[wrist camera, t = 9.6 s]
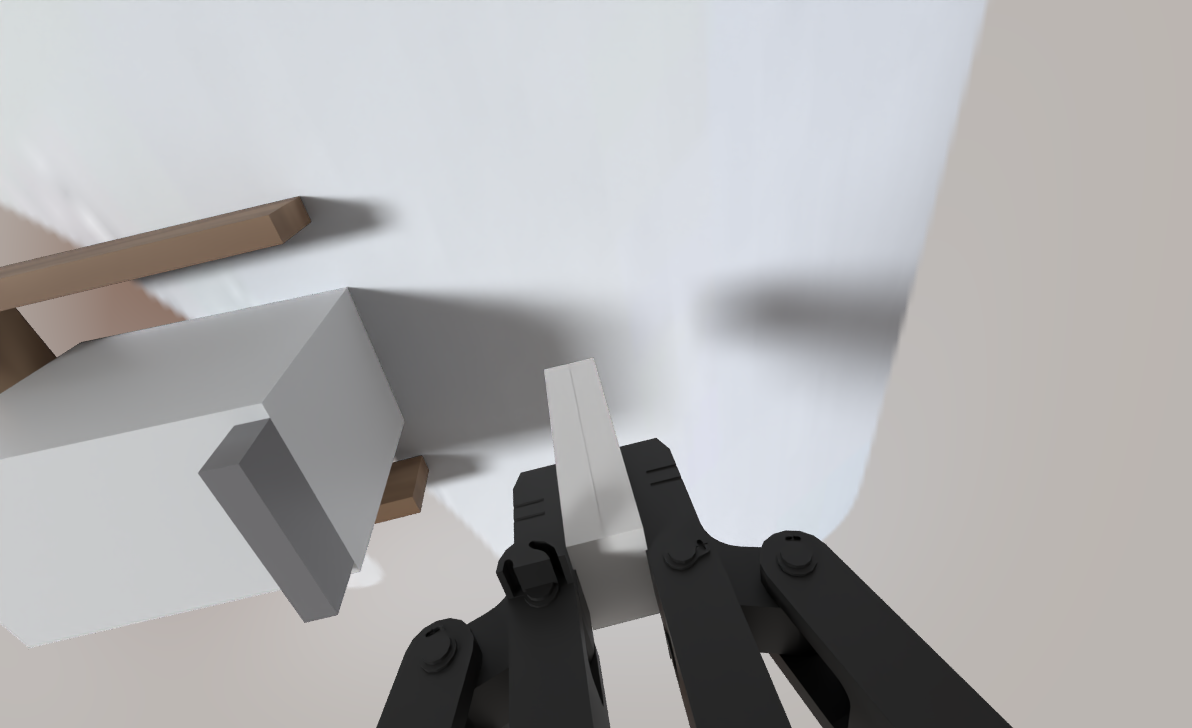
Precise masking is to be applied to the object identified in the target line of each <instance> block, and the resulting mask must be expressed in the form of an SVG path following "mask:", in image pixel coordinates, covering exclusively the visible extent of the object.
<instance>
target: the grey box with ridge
mask: <svg viewBox="0 0 1192 728" xmlns="http://www.w3.org/2000/svg"><path fill="white" fill-rule="evenodd" d="M404 422H405V420H404V418H403V416H402V413H401V411H400V409H399V406H398V404H397V402H396V400H395V397H394V395H393V393H392V390H391V388H390V386H389V383H388V381H387V379H386V376H385V374H384V372H383V369H382V367H381V365H380V362H379V360H378V358H377V355H376V353H375V351H374V348H373V346H372V344H371V341H370V339H369V337H368V334H367V332H366V330H365V327H364V325H363V323H362V320H361V318H360V316H359V313H358V311H357V309H356V306H355V304H354V302H353V299H352V297H351V295H350V292H349V290H348V288H347V287H346V288H341V289H336V290H331V291H327V292H322V293H317V294H312V295H307V296H303V297H298V298H293V299H288V300H283V301H279V302H274V303H269V304H264V305H259V306H255V307H250V308H245V309H240V310H235V311H231V312H226V313H221V314H216V315H211V316H207V317H202V318H197V319H192V320H185V321H180V322H175V323H170V324H166V325H161V326H156V327H151V328H147V329H142V330H137V331H132V332H127V333H123V334H118V335H113V336H108V337H103V338H98V339H94V340H89V341H84V342H81V343H79V344H77V345H76V346H74V347H73V348H71V349H70V350H68V351H67V352H65V353H63V354H62V355H61V356H59V357H57V358H56V359H54V360H52V361H51V362H49V363H48V364H46V365H45V366H43V367H42V368H40V369H38V370H37V371H35V372H34V373H32V374H31V375H29V376H27V377H26V378H24V379H23V380H21V381H20V382H18V383H17V384H15V385H13V386H12V387H10V388H9V389H7V390H6V391H4V392H2V393H1V394H0V624H1V625H2V626H3V627H5V628H6V629H7V630H8V631H9V632H10V633H12V634H13V635H14V636H15V637H16V638H18V639H19V640H20V641H21V642H22V643H24V644H25V645H26V646H27V647H28V648H31V647H35V646H40V645H44V644H48V643H53V642H57V641H62V640H66V639H70V638H75V637H79V636H83V635H87V634H92V633H96V632H101V631H105V630H110V629H114V628H118V627H122V626H127V625H131V624H136V623H140V622H144V621H149V620H153V619H157V618H161V617H166V616H170V615H174V614H179V613H183V612H188V611H192V610H196V609H201V608H205V607H209V606H214V605H218V604H222V603H227V602H231V601H235V600H240V599H244V598H249V597H253V596H257V595H261V594H266V593H270V592H275V591H279V590H282V592H283V593H284V595H285V596H286V597H287V599H288V600H289V602H290V603H291V604H292V606H293V607H294V608H295V610H296V611H297V613H298V614H299V615H300V617H301V618H302V620H303V621H304V623H305V622H310V621H314V620H318V619H323V618H327V617H331V616H336V615H338V613H339V609H340V606H341V603H342V599H343V597H344V593H345V590H346V587H347V584H348V581H349V578H350V574H353V573H357V572H360V571H361V567H362V564H363V561H364V557H365V554H366V550H367V547H368V544H369V540H370V537H371V533H372V530H373V527H374V523H375V520H376V517H377V513H378V510H379V506H380V503H381V500H382V496H383V493H384V490H385V486H386V483H387V479H388V476H389V473H390V469H391V466H392V463H393V459H394V456H395V452H396V449H397V446H398V442H399V439H400V436H401V432H402V429H403V425H404Z"/></svg>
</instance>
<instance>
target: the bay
mask: <svg viewBox="0 0 1192 728" xmlns="http://www.w3.org/2000/svg"><path fill="white" fill-rule="evenodd" d="M309 223H311V220H310V218H309V216H308V213H307V211H306V209H305V207H304V205H303V203H302V201H301V199H300V197H299V196H298V197H294V198H289V199H285V200H281V201H277V202H273V203H268V204H264V205H260V206H256V207H251V208H247V209H243V210H239V211H235V212H230V213H226V214H222V215H218V216H214V217H209V218H205V219H201V220H197V221H192V222H188V223H184V224H180V225H176V226H171V227H167V228H163V229H159V230H154V231H150V232H146V233H142V234H138V235H133V236H129V237H125V238H121V239H116V240H112V241H108V242H104V243H100V244H95V245H91V246H87V247H83V248H78V249H74V250H70V251H66V252H62V253H57V254H53V255H49V256H45V257H41V258H36V259H32V260H28V261H24V262H19V263H15V264H11V265H7V266H3V267H0V394H1V393H2V392H4V391H6V390H7V389H9V388H10V387H12V386H13V385H15V384H17V383H18V382H20V381H21V380H23V379H24V378H26V377H27V376H29V375H31V374H32V373H34V372H35V371H37V370H38V369H40V368H42V367H43V366H45V365H46V364H48V363H49V362H51V361H52V360H54V359H56V358H57V357H56V356H55V355H54V354H53V352H52V351H51V350H50V349H49V348H48V346H47V345H46V344H45V343H44V341H43V340H42V339H41V338H40V337H39V335H38V334H37V333H36V332H35V331H34V329H33V328H32V327H31V326H30V325H29V323H28V322H27V321H26V320H25V319H24V317H23V316H22V315H21V313H20V312H19V311H18V310H17V309H16V307H20V306H24V305H28V304H33V303H37V302H41V301H45V300H49V299H54V298H58V297H62V296H66V295H70V294H74V293H78V292H83V291H87V290H91V289H95V288H99V287H104V286H108V285H112V284H116V283H121V282H125V281H129V280H133V279H137V278H141V277H146V276H150V275H154V274H158V273H162V272H167V271H171V270H175V269H179V268H183V267H188V266H192V265H196V264H200V263H204V262H208V261H213V260H217V259H221V258H225V257H229V256H234V255H238V254H242V253H246V252H250V251H255V250H259V249H263V248H267V247H271V246H275V245H280V244H283V243H285V242H286V241H287V240H289V239H290V238H291V237H292V236H294V235H295V234H296V233H298V232H299V231H300V230H302V229H303V228H304V227H305V226H307V225H308V224H309ZM428 472H429V469H428V467H427V465H426V463H425V461H424V459H423V457H422V455H421V456H417V457H413V458H409V459H405V460H401V461H397V462H393V463H392V466H391V469H390V473H389V476H388V479H387V483H386V486H385V490H384V493H383V496H382V500H381V503H380V506H379V510H378V513H377V517H376V520H375V523H374V524H376V523H380V522H384V521H388V520H392V519H396V518H400V517H404V516H408V515H412V514H416V513H420V512H421V507H422V502H423V497H424V492H425V487H426V482H427V477H428Z"/></svg>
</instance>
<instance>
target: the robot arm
mask: <svg viewBox="0 0 1192 728" xmlns="http://www.w3.org/2000/svg"><path fill="white" fill-rule="evenodd" d="M544 374H545V382H546V390H547V398H548V406H549V415H550V423H551V431H552V439H553V447H554V455H555V463H556V464H554V465H550V466H546V467H542V468H538V469H534V470H530V471H526V472H522V473H521V474H520V476H519V478H518V480H517V482H516V484H515V486H514V488H513V506H514V544H513V545H512V546H510V547H509V548H508V549H507V550H506V551H505V552H504V554H503V555H502V557H501V558H500V560H499V562H498V566H497V570H496V574H497V576H498V578H499V580H500V583H501V585H502V587H503V589H504V592H505V594H506V597H505V598H504V599H503V600H502V601H501V602H500V603H499V604H498V605H497V606H496V607H495V608H493V609H492V610H490V611H489V612H487V613H486V614H484V615H483V616H481V617H479V618H477V619H475V620H474V621H472V622H470V623H469V624H465V623H464V622H463V621H462V620H457V619H452V618H448V619H443V620H439V621H436V622H434V623H432V624H431V625H429V626H427V627H425V628H424V629H423V630H422V631H421V632H420V633H419V634H418V635H417V636H416V637H415V638H414V639H413V640H412V642H411V644H410V645H409V647H408V649H407V651H406V652H405V655H404V657H403V660H402V663H401V665H400V668H399V671H398V673H397V676H396V679H395V681H394V683H393V686H392V689H391V691H390V694H389V696H388V699H387V702H386V704H385V707H384V709H383V712H382V715H381V717H380V720H379V722H378V725H377V727H376V728H610V723H609V717H608V710H607V705H606V698H605V691H604V686H603V679H602V674H601V666H600V661H599V655H598V652H597V649H596V646H595V643H594V638H593V632H592V627H593V630H596V629H600V628H604V627H608V626H611V625H615V624H619V623H623V622H627V621H631V620H635V619H638V618H642V617H646V616H650V615H654V614H658V613H660V615H661V618H662V622H663V626H664V631H665V636H666V640H667V645H668V650H669V655H670V658H671V659H672V662H673V666H674V669H675V673H676V677H677V680H678V684H679V688H680V692H681V695H682V699H683V702H684V706H685V710H686V713H687V717H688V721H689V725H690V728H791V725H790V723H789V720H788V718H787V716H786V713H785V711H784V708H783V706H782V704H781V701H780V699H779V697H778V694H777V692H776V690H775V687H774V685H773V682H772V680H771V678H770V675H769V673H768V670H767V668H766V666H765V663H764V661H763V659H762V656H761V654H760V652H761V653H769V654H770V656H771V657H772V658H773V659H774V661H775V663H776V664H777V665H778V667H779V668H780V669H781V671H782V672H783V673H784V675H785V676H786V678H787V679H788V680H789V682H790V683H791V685H792V686H793V687H794V689H795V690H796V691H797V693H798V694H799V696H800V697H801V698H802V700H803V701H804V703H805V704H806V705H807V707H808V708H809V709H810V711H811V712H812V714H813V715H814V716H815V717H816V719H817V720H818V722H819V723H820V725H821V726H822V727H823V728H1012V727H1011V726H1010V725H1009V724H1008V723H1007V722H1006V721H1005V720H1004V719H1003V718H1002V717H1001V716H1000V715H999V714H998V713H997V712H996V711H995V710H994V709H993V708H992V707H991V706H990V705H989V704H988V703H987V702H986V701H985V700H984V699H983V698H982V697H981V696H980V695H979V694H978V693H977V692H976V691H975V690H974V689H973V688H972V687H971V686H970V685H969V684H968V683H967V682H965V680H964V679H963V678H961V677H960V676H959V675H958V674H957V673H956V672H955V671H954V670H953V669H952V668H951V667H950V666H949V665H948V664H947V663H946V662H945V661H944V660H943V659H942V658H941V657H940V656H939V655H938V654H937V653H936V652H935V651H934V650H933V649H932V648H931V647H930V646H929V645H928V644H927V643H926V642H925V641H924V640H923V639H922V638H921V637H920V636H918V634H917V633H915V631H914V630H913V629H911V628H910V627H909V626H908V625H907V624H906V623H905V622H904V621H903V620H902V619H901V618H900V617H899V616H898V615H897V614H896V613H895V612H894V611H893V610H892V609H891V608H890V607H889V606H888V605H887V604H886V603H885V602H884V601H883V600H882V599H881V598H880V597H879V596H878V595H877V594H876V593H875V592H874V591H873V590H872V589H871V588H870V587H869V586H868V585H867V584H865V582H864V581H862V580H861V579H860V578H859V577H858V576H857V575H856V574H855V573H854V572H853V571H852V570H851V569H850V568H849V567H848V566H847V565H846V564H845V563H844V562H843V561H842V560H841V559H840V558H839V557H838V556H837V555H836V554H835V553H834V552H833V551H832V550H831V549H830V548H829V547H828V546H827V545H826V544H825V543H823V542H822V541H820V540H819V539H818V538H816V537H815V536H813V535H810V534H807V533H804V532H801V531H782V532H779V533H776V534H773V535H772V536H770V537H769V538H768V539H767V540H765V541H764V543H763V545H762V547H740V546H732V545H728V544H725V543H722V542H719V541H718V540H716V539H714V538H713V537H711V536H710V535H709V534H708V533H707V532H706V531H705V530H704V528H703V527H702V525H701V523H700V521H699V519H698V516H697V514H696V511H695V509H694V507H693V504H692V502H691V499H690V497H689V495H688V492H687V490H686V487H685V485H684V482H683V480H682V479H681V475H680V473H679V470H678V468H677V467H676V463H675V461H674V458H673V456H672V454H671V451H670V449H669V448H668V447H667V446H665V445H664V444H663V443H662V442H661V441H659V440H658V439H657V438H654V439H650V440H646V441H642V442H638V443H633V444H629V445H625V446H621V447H619V444H618V440H617V437H616V433H615V430H614V426H613V423H612V419H611V416H610V413H609V409H608V406H607V402H606V399H605V395H604V392H603V388H602V385H601V382H600V378H599V375H598V371H597V368H596V364H595V361H594V358H589V359H585V360H581V361H577V362H573V363H569V364H565V365H561V366H557V367H552V368H548V369H544Z"/></svg>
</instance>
